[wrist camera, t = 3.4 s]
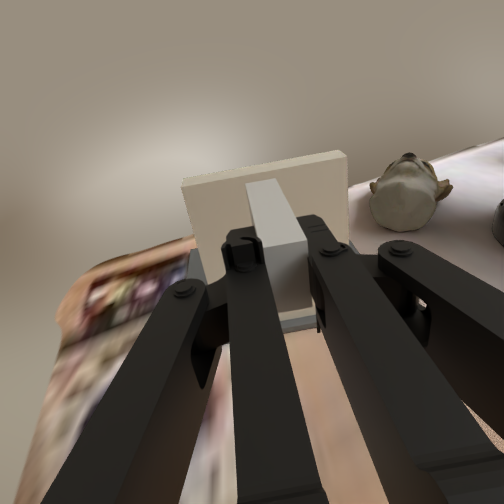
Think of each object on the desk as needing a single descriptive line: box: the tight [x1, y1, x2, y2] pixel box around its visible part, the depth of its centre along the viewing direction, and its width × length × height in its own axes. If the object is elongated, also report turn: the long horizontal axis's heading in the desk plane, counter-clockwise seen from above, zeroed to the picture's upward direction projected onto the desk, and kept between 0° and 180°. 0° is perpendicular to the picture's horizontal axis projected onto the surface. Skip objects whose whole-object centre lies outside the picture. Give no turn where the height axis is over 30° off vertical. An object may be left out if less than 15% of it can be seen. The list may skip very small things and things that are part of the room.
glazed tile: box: [181, 150, 349, 321], centre depth 29 cm, size 12×2×14 cm, turn 95°
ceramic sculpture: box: [369, 153, 453, 232], centre depth 44 cm, size 11×9×15 cm
